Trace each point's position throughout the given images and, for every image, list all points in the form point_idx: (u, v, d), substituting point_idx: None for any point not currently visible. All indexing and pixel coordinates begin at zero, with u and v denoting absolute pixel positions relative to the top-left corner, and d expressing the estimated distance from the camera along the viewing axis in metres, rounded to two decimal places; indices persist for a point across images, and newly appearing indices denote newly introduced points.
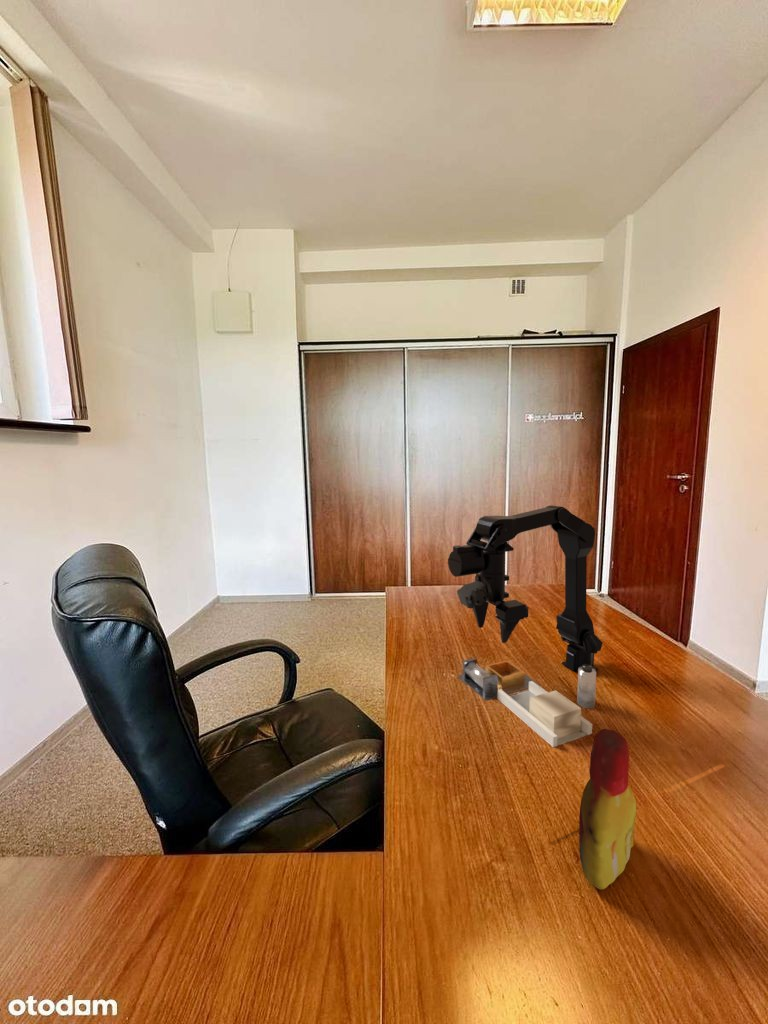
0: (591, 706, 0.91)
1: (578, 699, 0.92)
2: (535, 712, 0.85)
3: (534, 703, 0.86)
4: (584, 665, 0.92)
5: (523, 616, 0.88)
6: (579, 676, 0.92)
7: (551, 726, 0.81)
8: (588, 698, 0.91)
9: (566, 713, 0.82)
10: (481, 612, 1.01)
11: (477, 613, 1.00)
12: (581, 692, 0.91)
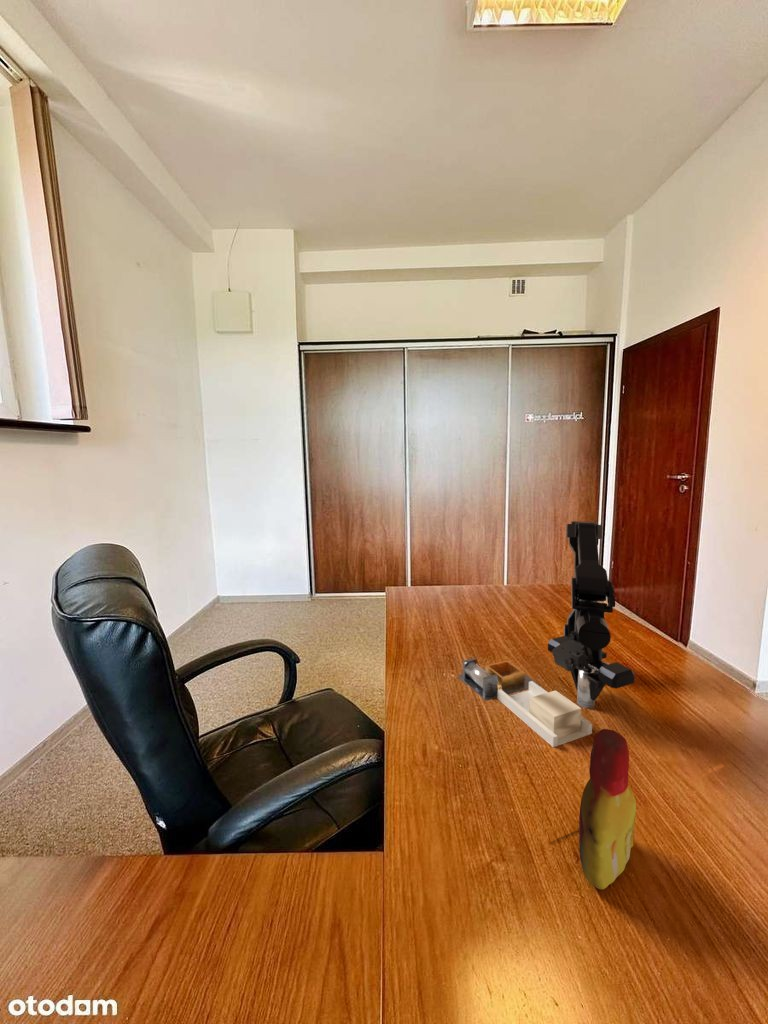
0: (591, 706, 0.91)
1: (578, 699, 0.92)
2: (535, 712, 0.85)
3: (534, 703, 0.86)
4: None
5: (629, 682, 0.83)
6: (579, 676, 0.92)
7: (551, 726, 0.81)
8: (588, 698, 0.91)
9: (566, 713, 0.82)
10: None
11: (576, 676, 0.93)
12: (581, 692, 0.91)
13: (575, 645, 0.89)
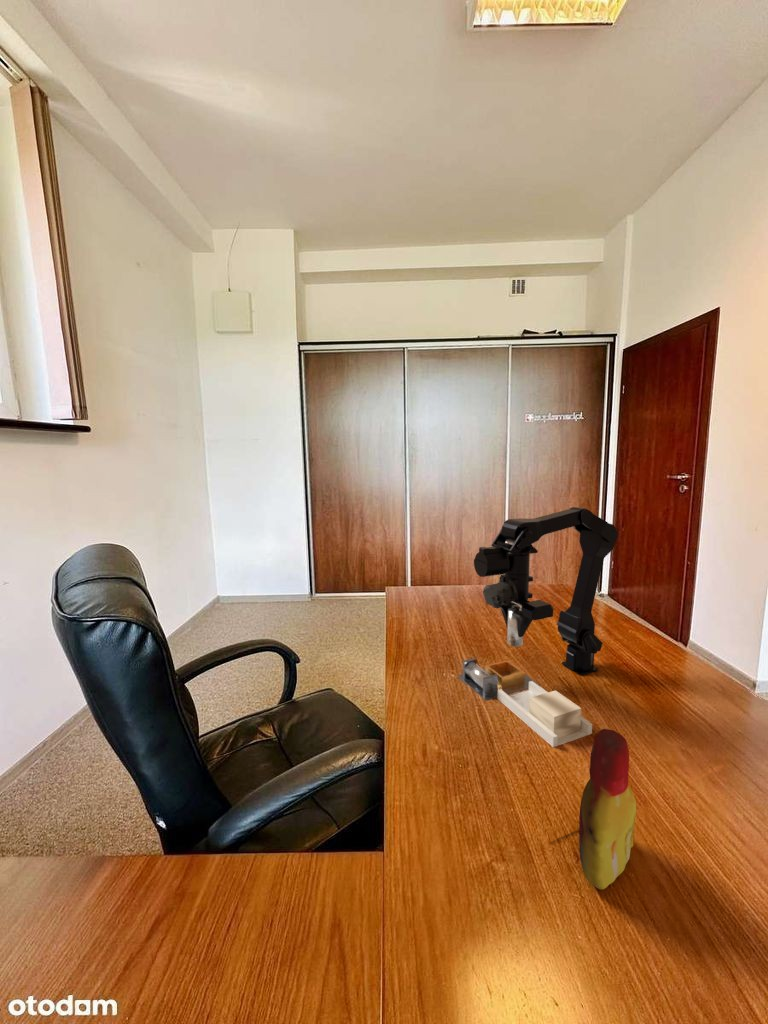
0: (519, 643, 0.99)
1: (507, 637, 1.00)
2: (535, 712, 0.85)
3: (534, 703, 0.86)
4: (513, 606, 1.00)
5: (548, 615, 0.91)
6: (508, 616, 1.00)
7: (551, 726, 0.81)
8: (515, 635, 0.99)
9: (566, 713, 0.82)
10: None
11: (507, 616, 1.02)
12: (510, 630, 0.99)
13: (503, 585, 0.97)
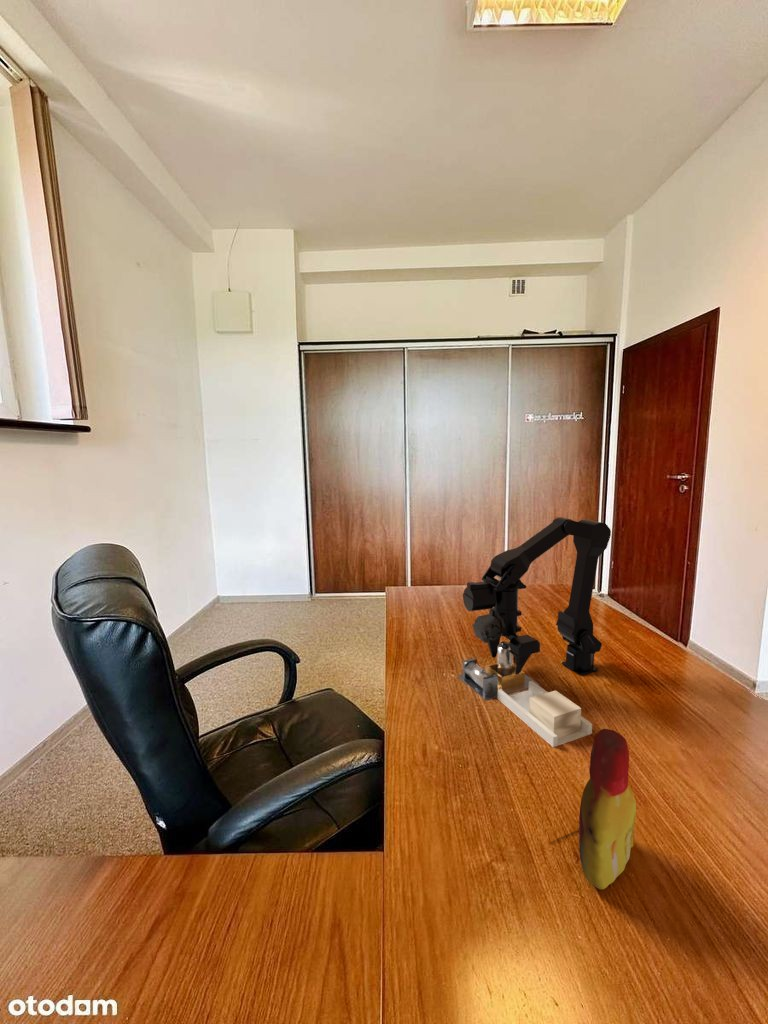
0: None
1: (497, 672, 1.04)
2: (535, 712, 0.85)
3: (534, 703, 0.86)
4: (502, 642, 1.03)
5: (535, 651, 0.94)
6: (498, 652, 1.03)
7: (551, 726, 0.81)
8: (505, 671, 1.02)
9: (566, 713, 0.82)
10: (494, 643, 1.07)
11: (490, 644, 1.07)
12: (499, 666, 1.02)
13: (492, 620, 1.00)
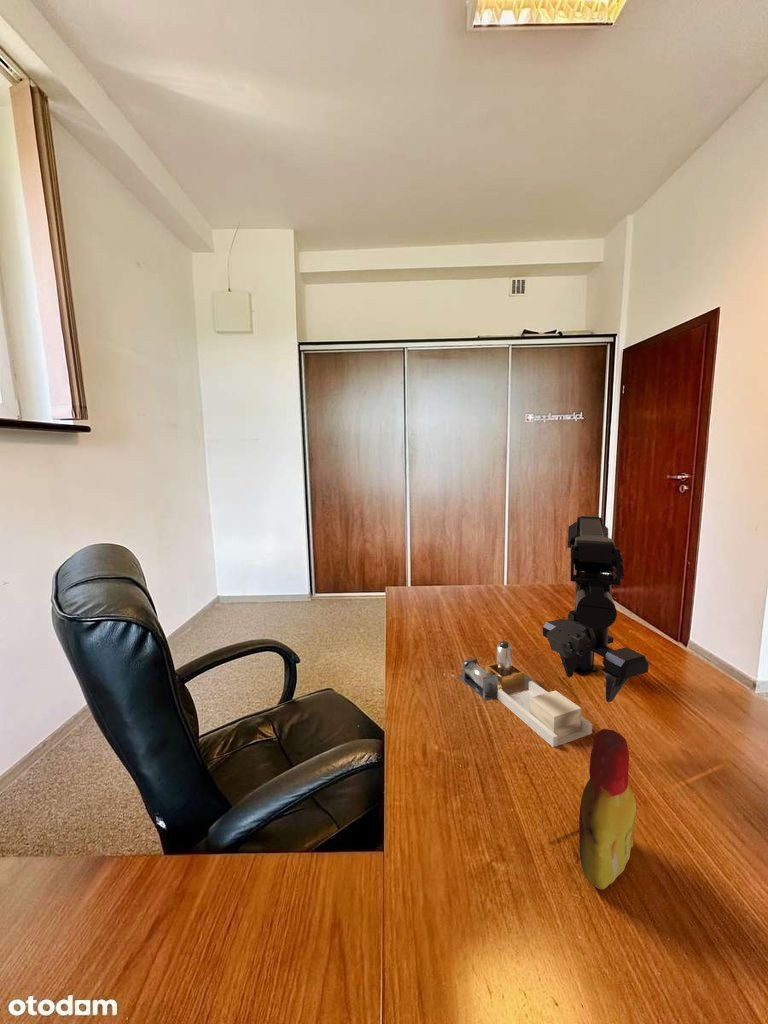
0: None
1: (497, 672, 1.04)
2: (535, 712, 0.85)
3: (534, 703, 0.86)
4: (501, 642, 1.03)
5: (642, 671, 0.67)
6: (497, 652, 1.03)
7: (551, 726, 0.81)
8: (505, 671, 1.02)
9: (566, 713, 0.82)
10: (571, 658, 0.80)
11: (566, 659, 0.80)
12: (499, 666, 1.02)
13: (575, 627, 0.73)
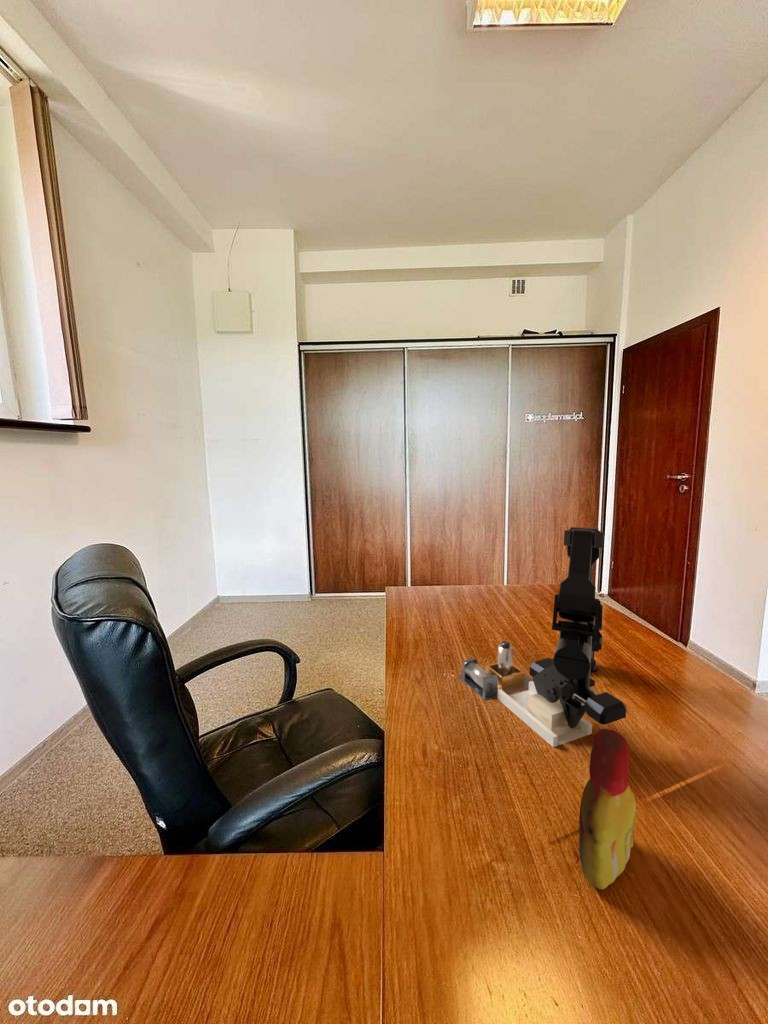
0: None
1: (497, 672, 1.03)
2: (533, 710, 0.86)
3: (532, 701, 0.86)
4: (503, 642, 1.03)
5: (620, 717, 0.72)
6: (498, 652, 1.02)
7: (549, 724, 0.82)
8: (505, 671, 1.02)
9: (563, 711, 0.82)
10: None
11: (568, 710, 0.81)
12: (500, 666, 1.02)
13: (559, 672, 0.78)
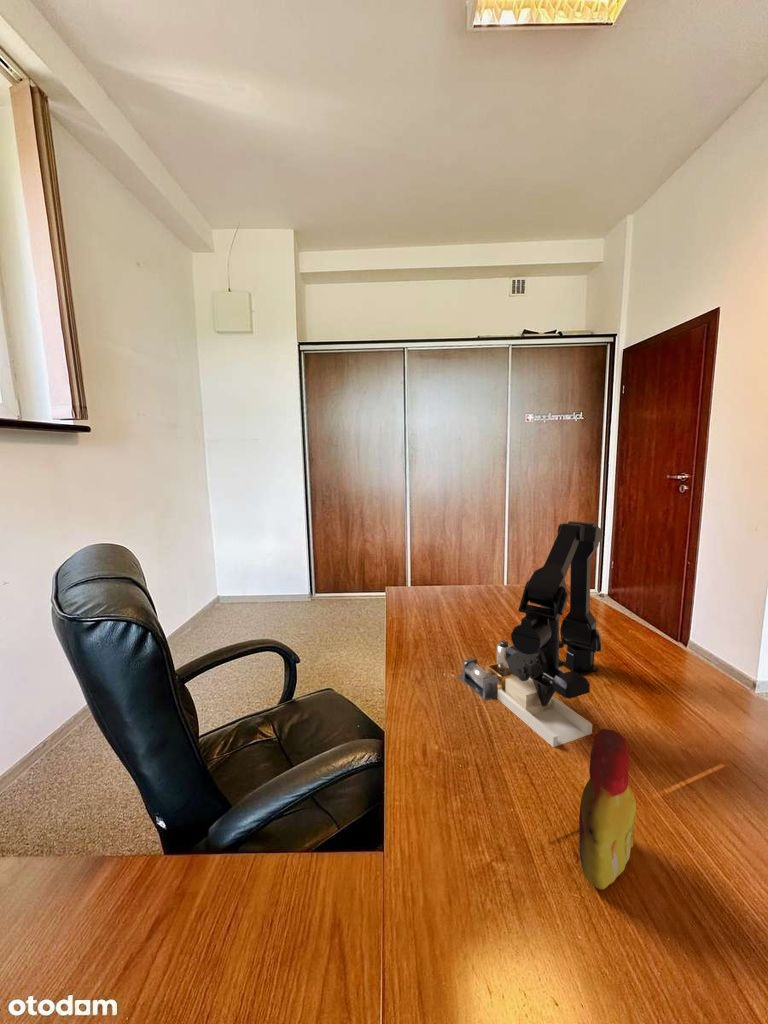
0: None
1: (497, 672, 1.03)
2: (510, 692, 0.93)
3: (509, 684, 0.93)
4: (501, 641, 1.03)
5: (584, 692, 0.79)
6: (497, 651, 1.03)
7: (523, 704, 0.89)
8: (505, 671, 1.02)
9: None
10: None
11: (540, 690, 0.88)
12: (499, 666, 1.02)
13: (530, 653, 0.85)
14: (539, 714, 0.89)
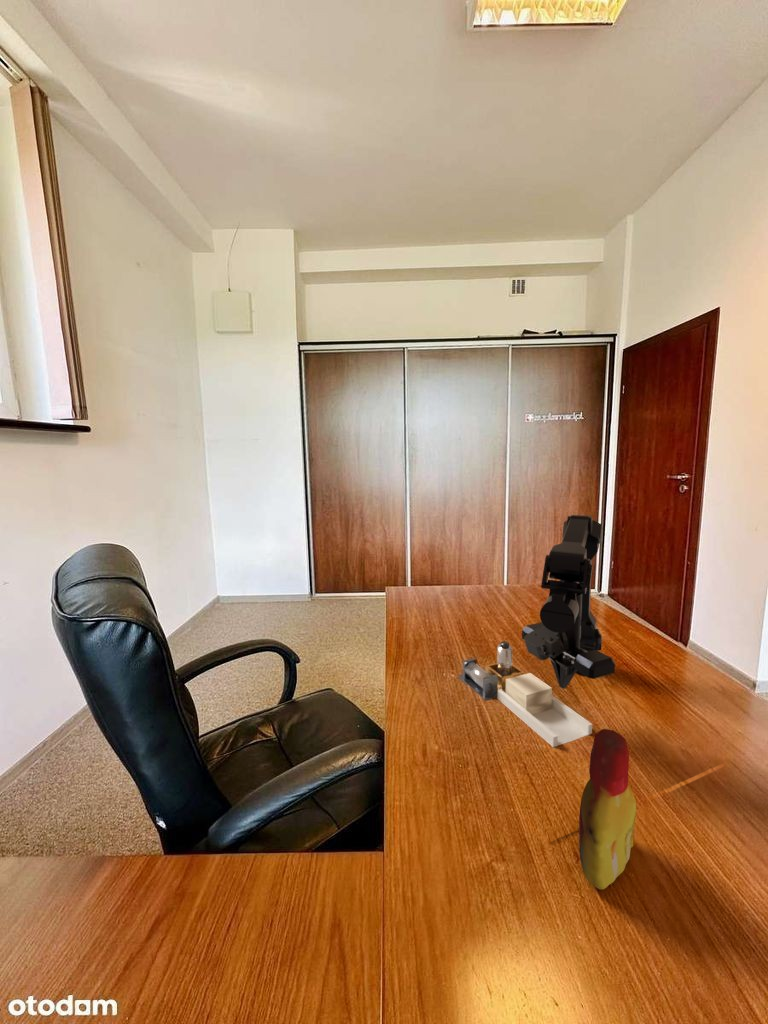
0: None
1: None
2: (511, 692, 0.93)
3: (509, 684, 0.93)
4: (502, 642, 1.02)
5: (609, 672, 0.73)
6: (498, 653, 1.02)
7: (524, 704, 0.89)
8: (506, 671, 1.02)
9: (537, 692, 0.89)
10: None
11: (558, 670, 0.82)
12: (500, 667, 1.02)
13: (549, 631, 0.79)
14: (539, 714, 0.89)
